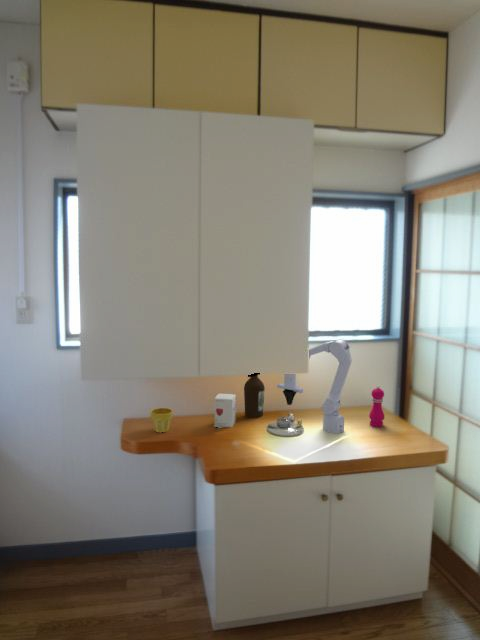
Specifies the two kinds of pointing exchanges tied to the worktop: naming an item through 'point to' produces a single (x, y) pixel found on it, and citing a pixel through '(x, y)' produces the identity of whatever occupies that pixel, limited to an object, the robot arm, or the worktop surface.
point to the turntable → (286, 429)
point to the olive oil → (254, 397)
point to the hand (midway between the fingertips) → (289, 404)
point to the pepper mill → (377, 408)
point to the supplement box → (224, 410)
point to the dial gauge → (291, 417)
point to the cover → (283, 422)
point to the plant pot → (161, 419)
